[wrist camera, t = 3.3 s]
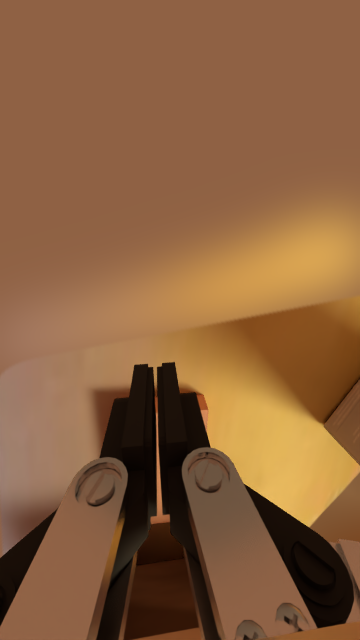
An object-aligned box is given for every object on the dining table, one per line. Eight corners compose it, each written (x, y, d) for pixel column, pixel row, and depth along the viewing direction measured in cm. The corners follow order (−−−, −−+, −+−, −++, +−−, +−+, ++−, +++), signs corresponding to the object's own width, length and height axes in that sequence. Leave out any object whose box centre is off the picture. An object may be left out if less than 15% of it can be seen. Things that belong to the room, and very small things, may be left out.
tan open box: (224, 558, 26) (253, 689, 18) (106, 577, 25) (86, 724, 17) (227, 510, 23) (263, 639, 16) (96, 527, 22) (66, 677, 14)
